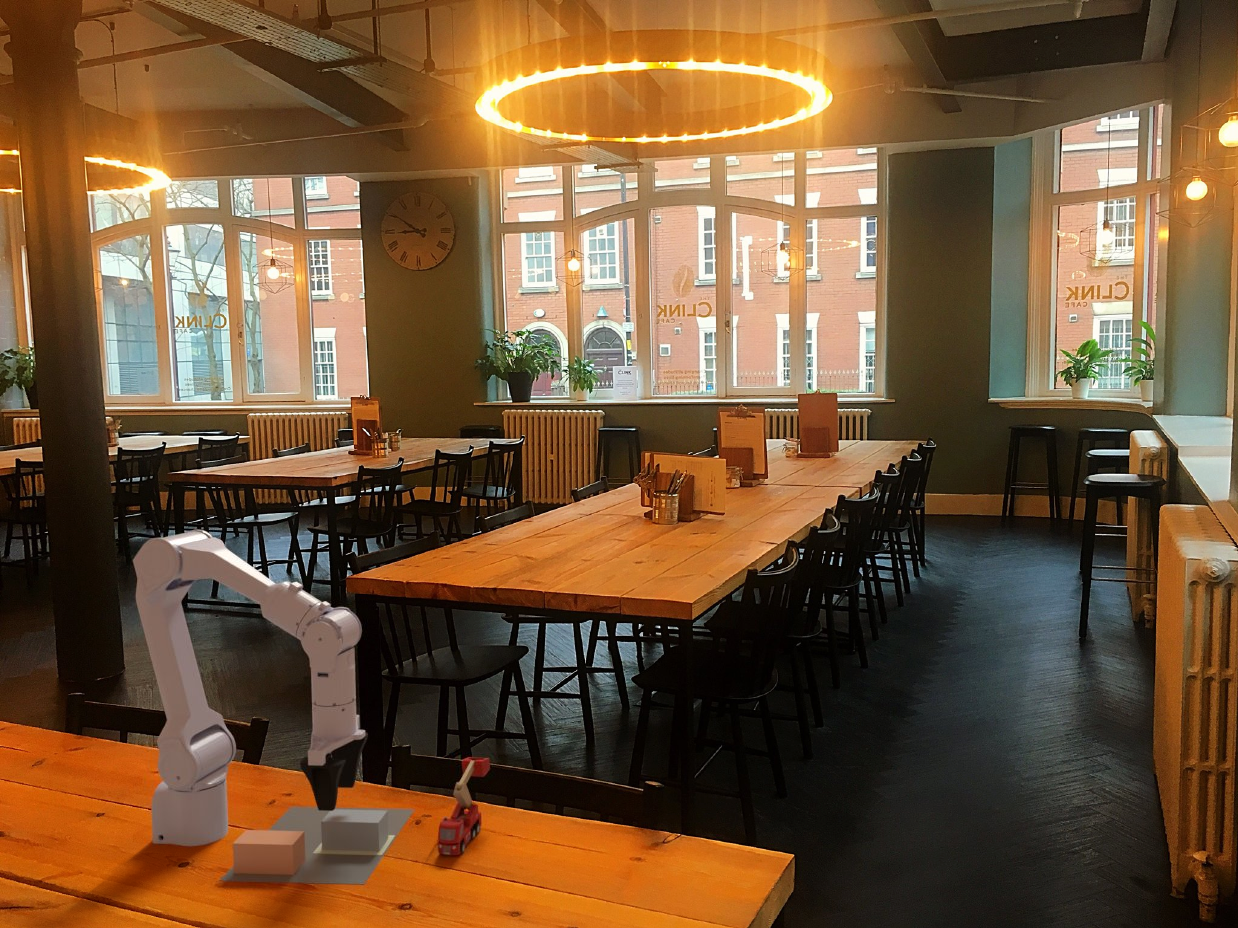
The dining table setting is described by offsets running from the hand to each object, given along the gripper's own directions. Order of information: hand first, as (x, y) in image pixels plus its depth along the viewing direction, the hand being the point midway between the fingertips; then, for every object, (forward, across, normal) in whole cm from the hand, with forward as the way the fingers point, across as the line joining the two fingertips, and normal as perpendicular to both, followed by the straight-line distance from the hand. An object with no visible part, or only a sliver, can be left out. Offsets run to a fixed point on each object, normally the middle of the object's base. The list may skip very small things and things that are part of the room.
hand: (336, 797), depth 137 cm
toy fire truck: (+8, +7, -16) cm, 19 cm away
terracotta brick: (+7, -6, +7) cm, 12 cm away
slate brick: (+7, +1, -2) cm, 7 cm away
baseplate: (+8, +2, +3) cm, 9 cm away
